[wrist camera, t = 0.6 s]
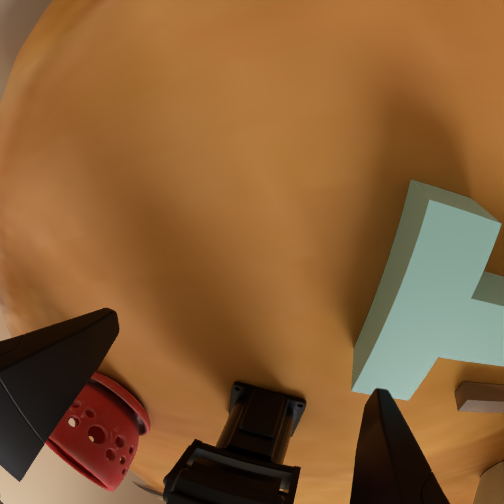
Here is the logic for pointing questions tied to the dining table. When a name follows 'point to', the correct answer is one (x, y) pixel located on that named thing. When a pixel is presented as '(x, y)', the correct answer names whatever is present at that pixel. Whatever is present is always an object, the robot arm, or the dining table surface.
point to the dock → (480, 397)
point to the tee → (432, 295)
